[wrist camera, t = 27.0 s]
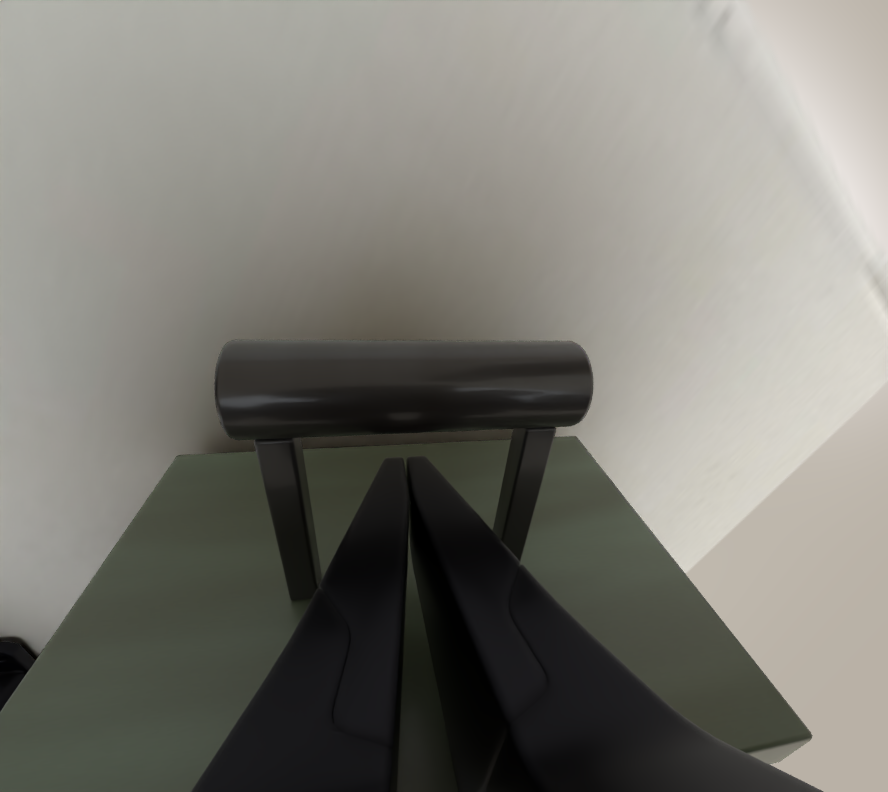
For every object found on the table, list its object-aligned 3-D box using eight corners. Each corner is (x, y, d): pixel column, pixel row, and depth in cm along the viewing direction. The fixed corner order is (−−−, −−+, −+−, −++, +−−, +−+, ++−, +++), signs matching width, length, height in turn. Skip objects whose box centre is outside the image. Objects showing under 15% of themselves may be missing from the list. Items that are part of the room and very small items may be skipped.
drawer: (105, 261, 9) (-1673, 834, 1) (624, 280, 11) (1157, 498, 4) (263, 688, 19) (194, 1015, 12) (510, 649, 22) (584, 900, 14)
